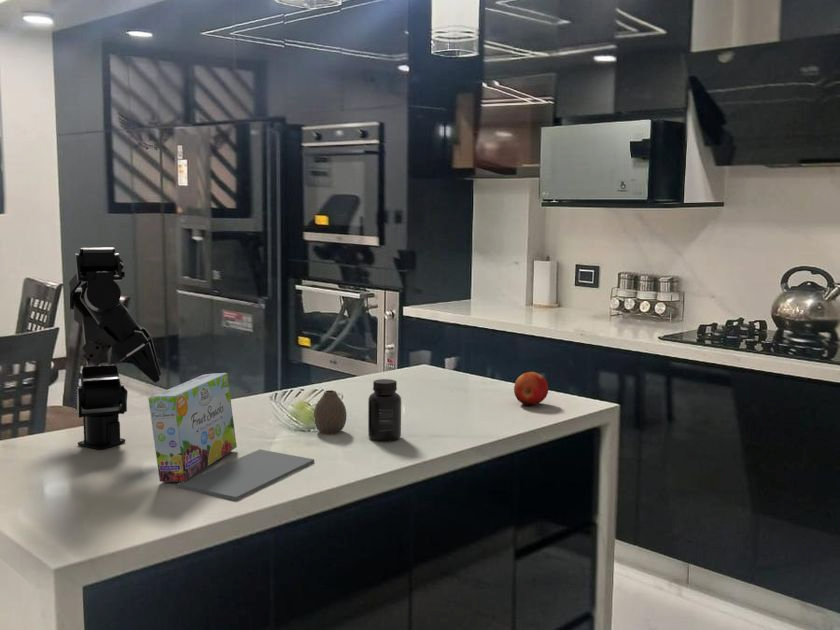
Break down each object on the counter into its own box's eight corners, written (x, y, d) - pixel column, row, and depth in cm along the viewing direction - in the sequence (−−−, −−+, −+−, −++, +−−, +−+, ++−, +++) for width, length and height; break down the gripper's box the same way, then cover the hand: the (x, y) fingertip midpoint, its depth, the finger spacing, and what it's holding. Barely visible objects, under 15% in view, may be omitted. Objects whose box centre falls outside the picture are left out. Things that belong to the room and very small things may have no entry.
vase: (332, 438, 173) (333, 396, 172) (306, 433, 177) (306, 392, 176) (352, 431, 179) (353, 390, 178) (327, 425, 183) (327, 386, 182)
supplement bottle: (406, 436, 176) (407, 379, 175) (391, 444, 170) (392, 386, 169) (377, 431, 179) (378, 376, 178) (361, 439, 173) (362, 382, 171)
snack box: (188, 482, 143) (175, 395, 141) (158, 483, 144) (144, 397, 143) (239, 446, 164) (228, 370, 162) (212, 448, 165) (201, 373, 163)
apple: (551, 403, 207) (553, 372, 206) (537, 410, 200) (539, 377, 199) (522, 399, 211) (523, 367, 210) (507, 405, 204) (508, 373, 203)
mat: (176, 487, 142) (176, 484, 142) (259, 452, 163) (259, 449, 163) (236, 500, 137) (236, 497, 137) (314, 462, 158) (314, 459, 157)
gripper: (76, 333, 165) (124, 397, 168) (64, 339, 147) (118, 410, 150) (126, 301, 168) (172, 365, 170) (119, 303, 150) (171, 374, 152)
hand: (158, 378), depth 161 cm, fingers open, 9 cm apart
